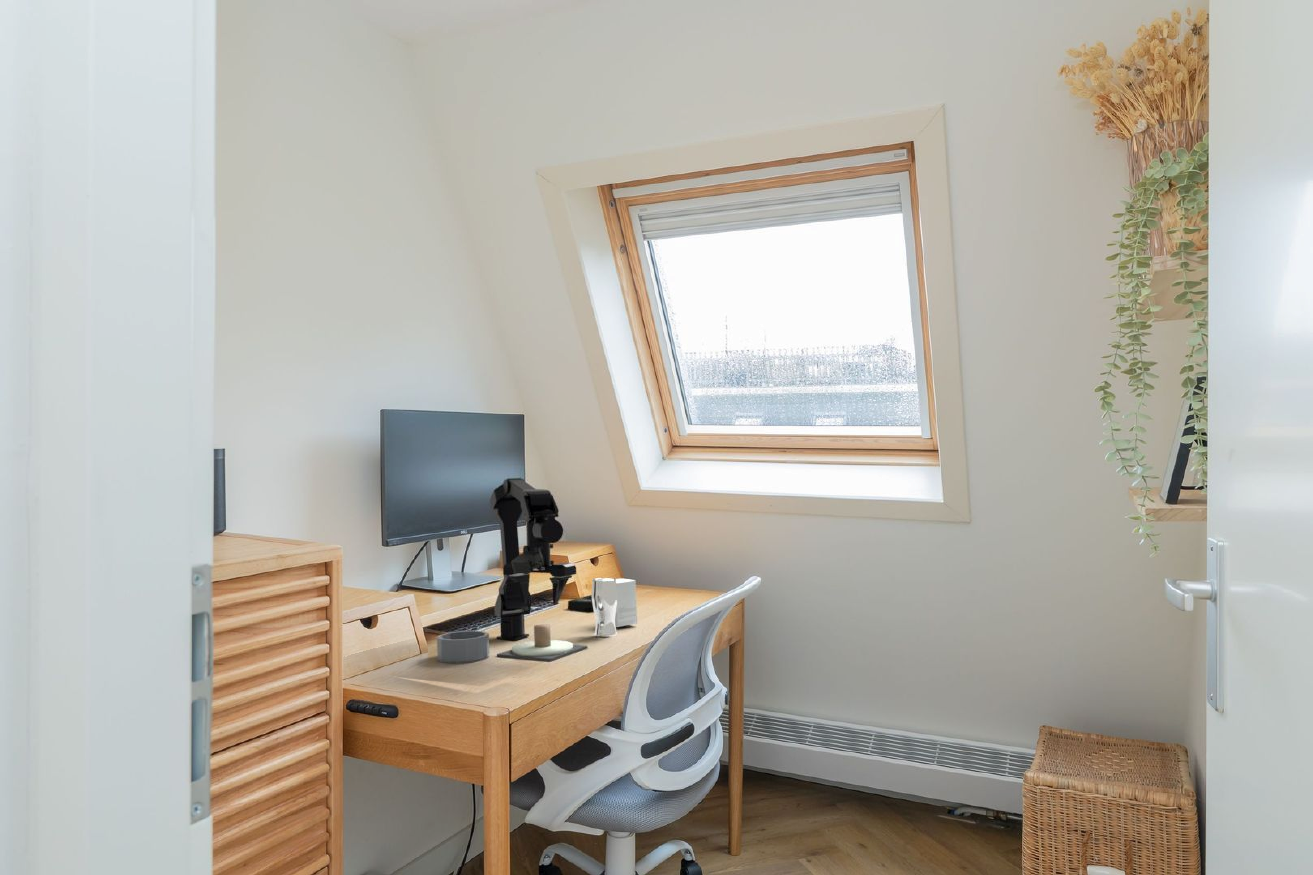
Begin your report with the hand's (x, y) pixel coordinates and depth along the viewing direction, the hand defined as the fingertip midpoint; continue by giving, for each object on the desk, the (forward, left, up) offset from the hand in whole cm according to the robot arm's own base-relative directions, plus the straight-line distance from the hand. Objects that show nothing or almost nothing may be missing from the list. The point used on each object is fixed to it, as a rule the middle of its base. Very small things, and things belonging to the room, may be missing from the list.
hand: (540, 603), depth 225 cm
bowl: (+12, -15, -12) cm, 22 cm away
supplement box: (-41, -2, -12) cm, 43 cm away
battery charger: (-61, -24, -13) cm, 67 cm away
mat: (0, 0, -12) cm, 12 cm away
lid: (0, 0, -11) cm, 11 cm away
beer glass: (-25, +3, -12) cm, 28 cm away
